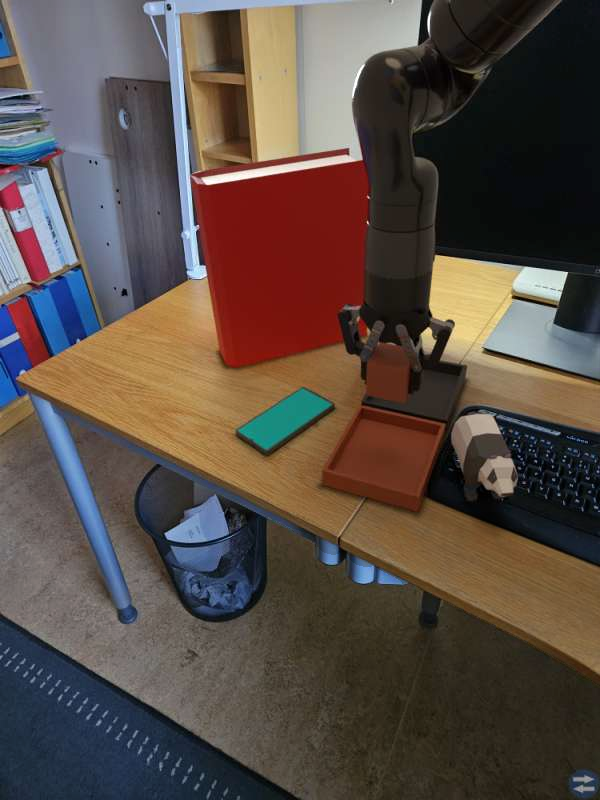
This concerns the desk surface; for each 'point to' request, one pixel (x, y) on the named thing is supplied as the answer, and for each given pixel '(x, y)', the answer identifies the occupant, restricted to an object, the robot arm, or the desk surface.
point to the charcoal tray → (429, 395)
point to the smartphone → (284, 420)
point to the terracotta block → (388, 373)
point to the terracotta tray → (385, 457)
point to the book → (282, 251)
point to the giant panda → (483, 455)
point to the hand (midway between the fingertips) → (391, 385)
